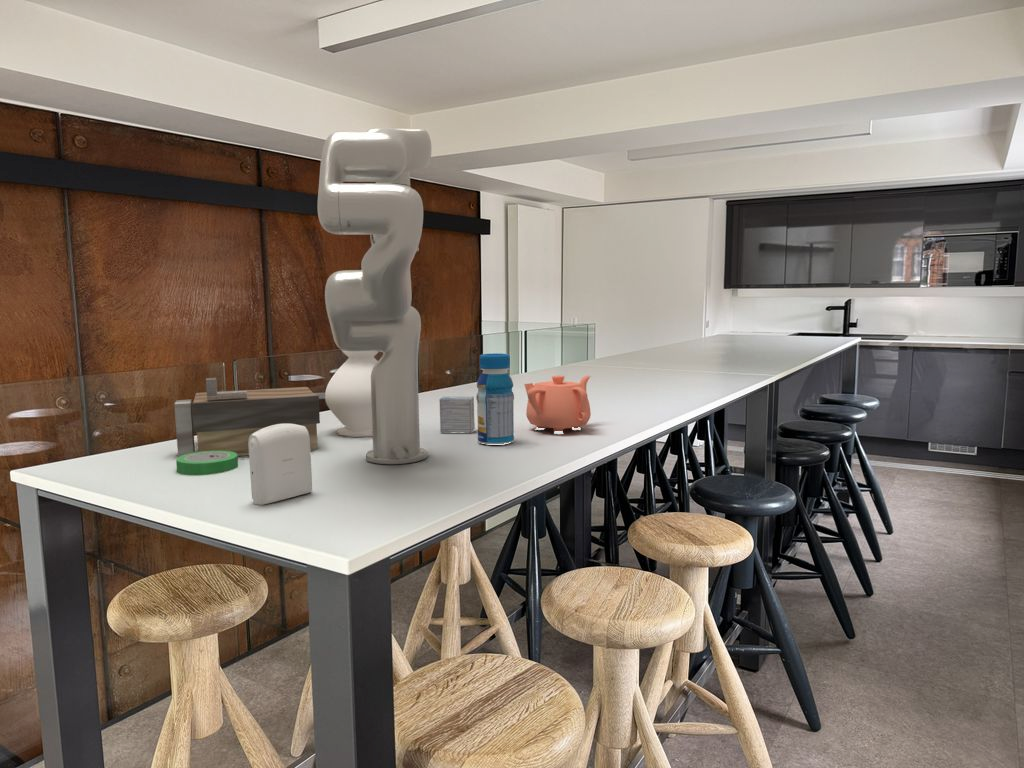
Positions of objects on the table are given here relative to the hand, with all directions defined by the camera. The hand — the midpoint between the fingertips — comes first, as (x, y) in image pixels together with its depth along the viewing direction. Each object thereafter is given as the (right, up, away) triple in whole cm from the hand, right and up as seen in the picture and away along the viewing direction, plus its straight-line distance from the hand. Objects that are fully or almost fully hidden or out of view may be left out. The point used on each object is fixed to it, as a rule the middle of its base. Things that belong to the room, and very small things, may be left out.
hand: (396, 278), depth 161 cm
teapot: (+38, -35, +16) cm, 54 cm away
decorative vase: (-10, -36, +15) cm, 40 cm away
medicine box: (+13, -36, +14) cm, 40 cm away
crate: (-33, -38, 0) cm, 50 cm away
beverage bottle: (+22, -37, +1) cm, 44 cm away
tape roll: (-34, -41, -21) cm, 57 cm away
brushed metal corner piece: (-35, -27, -7) cm, 45 cm away
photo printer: (-12, -43, -42) cm, 61 cm away
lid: (-31, -32, -1) cm, 45 cm away
